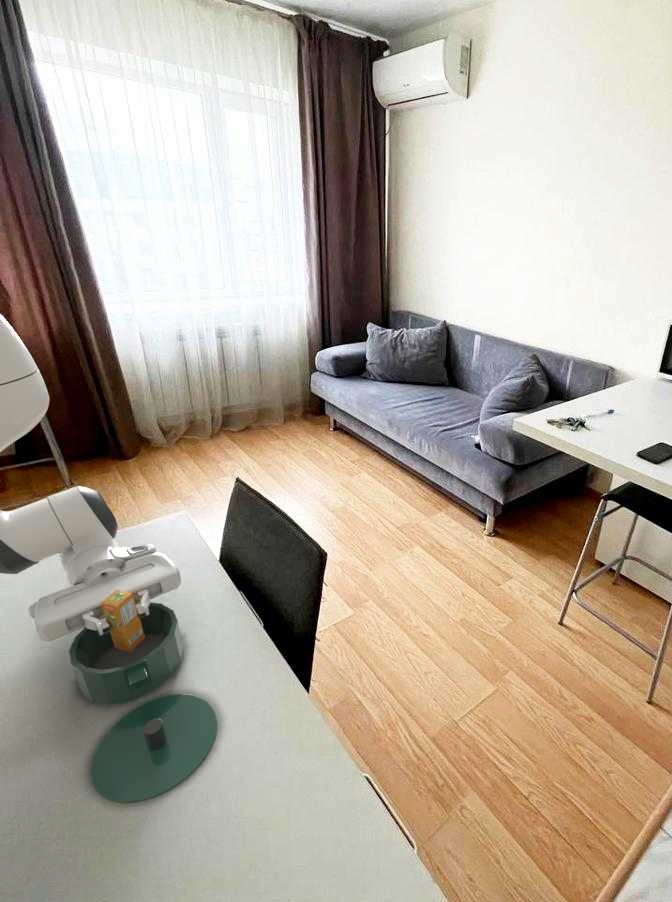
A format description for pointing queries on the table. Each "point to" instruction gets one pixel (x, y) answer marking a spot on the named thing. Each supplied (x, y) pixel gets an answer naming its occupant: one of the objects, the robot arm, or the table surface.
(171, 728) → the pot lid
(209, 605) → the table surface
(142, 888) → the table surface
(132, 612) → the supplement box
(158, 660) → the pot
